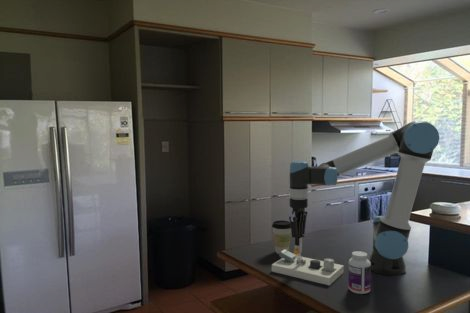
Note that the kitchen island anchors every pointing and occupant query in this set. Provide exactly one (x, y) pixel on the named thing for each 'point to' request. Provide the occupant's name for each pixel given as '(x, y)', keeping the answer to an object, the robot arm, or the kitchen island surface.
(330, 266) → the button grey
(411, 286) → the kitchen island surface
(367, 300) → the kitchen island surface
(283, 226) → the coffee cup
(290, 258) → the slate blue block
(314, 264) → the button black
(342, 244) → the kitchen island surface
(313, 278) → the panel
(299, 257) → the lever
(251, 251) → the kitchen island surface
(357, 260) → the pill bottle
